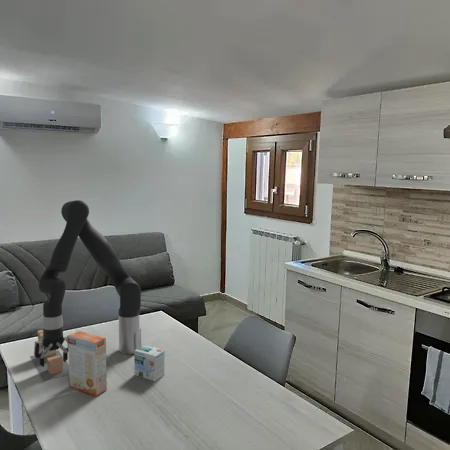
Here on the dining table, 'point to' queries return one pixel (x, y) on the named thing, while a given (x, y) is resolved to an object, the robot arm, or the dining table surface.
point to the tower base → (48, 354)
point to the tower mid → (40, 337)
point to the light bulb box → (149, 362)
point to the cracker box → (87, 362)
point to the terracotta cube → (55, 364)
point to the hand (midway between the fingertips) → (53, 363)
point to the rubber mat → (44, 372)
